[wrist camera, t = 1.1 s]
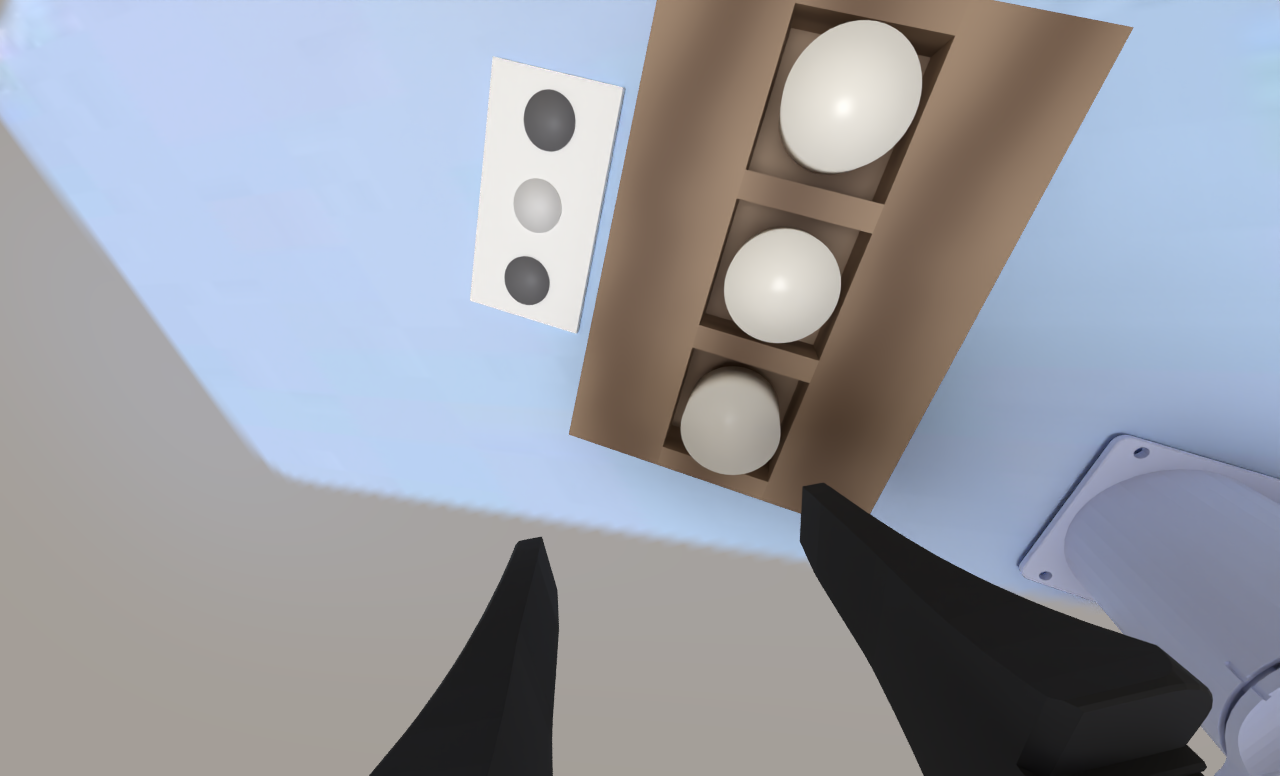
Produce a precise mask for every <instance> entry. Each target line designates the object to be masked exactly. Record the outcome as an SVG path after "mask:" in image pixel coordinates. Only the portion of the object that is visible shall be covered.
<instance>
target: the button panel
mask: <svg viewBox="0 0 1280 776" xmlns="http://www.w3.org/2000/svg"><path fill="white" fill-rule="evenodd" d="M858 20H871V21H878V22H881V23H885V24H887V25H889V26H891V27H894V28H895V29H897V30H898V31H899V32H901V33H902V34H903V35H904V36H905V37H906V38H907V39H908V40H909V42H910V43H911V44H912V46H913V47H914V49H915V52H916V54H917V56H918V59H919V62H920V66H921V72H922V90H921V97H920V101H919V105H918V108H917V111H916V114H915V116H914V118H913V120H912V122H911V124H910V126H909V127H908V129H907V131H906V132H905V134H904V135H903V136H902V137H901V139H900V140H899V141H898V142H897V143H896V144H895V145H894V146H893V147H892V148H891V149H890V150H889V151H888V152H886V153H885V154H884V155H883V156H881V157H880V158H878V159H876V160H875V161H873V162H871V163H869V164H867V165H864V166H862V167H859V168H856V169H854V170H851V171H848V172H846V173H841V174H835V175H822V174H816V173H813V172H810V171H808V170H806V169H804V168H802V167H801V166H799V165H798V164H797V163H796V162H795V161H794V160H793V159H792V158H791V157H790V156H789V154H788V153H787V151H786V149H785V148H784V145H783V143H782V140H781V136H780V131H779V113H780V106H781V100H782V95H783V90H784V86H785V83H786V80H787V78H788V75H789V73H790V71H791V69H792V67H793V65H794V64H795V62H796V61H797V59H798V57H799V56H800V55H801V54H802V52H803V51H804V50H805V49H806V48H807V47H808V46H809V45H810V44H811V43H812V42H813V41H814V40H815V39H816V38H818V37H819V36H820V35H822V34H823V33H825V32H826V31H828V30H830V29H832V28H834V27H836V26H838V25H841V24H844V23H847V22H852V21H858ZM1132 29H1133V27H1129V26H1124V25H1118V24H1113V23H1108V22H1103V21H1098V20H1093V19H1087V18H1082V17H1077V16H1072V15H1067V14H1062V13H1056V12H1051V11H1046V10H1041V9H1036V8H1031V7H1025V6H1020V5H1015V4H1010V3H1005V2H1000V1H994V0H657V2H656V7H655V12H654V17H653V22H652V27H651V32H650V37H649V42H648V47H647V52H646V57H645V62H644V67H643V71H642V76H641V81H640V86H639V91H638V96H637V101H636V106H635V111H634V116H633V121H632V126H631V131H630V136H629V140H628V145H627V150H626V155H625V160H624V165H623V170H622V175H621V180H620V185H619V190H618V195H617V200H616V205H615V209H614V214H613V219H612V224H611V229H610V234H609V239H608V244H607V249H606V254H605V259H604V264H603V269H602V274H601V278H600V283H599V288H598V293H597V298H596V303H595V308H594V313H593V318H592V323H591V328H590V333H589V338H588V343H587V347H586V352H585V357H584V362H583V367H582V372H581V377H580V382H579V387H578V392H577V397H576V402H575V407H574V412H573V416H572V421H571V426H570V431H569V435H572V436H575V437H578V438H581V439H584V440H587V441H590V442H593V443H595V444H598V445H601V446H604V447H607V448H610V449H613V450H616V451H619V452H622V453H625V454H628V455H631V456H634V457H637V458H639V459H642V460H645V461H648V462H651V463H654V464H657V465H660V466H663V467H666V468H669V469H672V470H675V471H678V472H680V473H683V474H686V475H689V476H692V477H695V478H698V479H701V480H704V481H707V482H710V483H713V484H716V485H719V486H721V487H724V488H727V489H730V490H733V491H736V492H739V493H742V494H745V495H748V496H751V497H754V498H757V499H760V500H763V501H765V502H768V503H771V504H774V505H777V506H780V507H783V508H786V509H789V510H792V511H795V512H798V513H801V506H802V486H807V485H812V484H817V483H823V482H824V483H825V484H827V485H828V486H830V487H831V488H833V489H834V490H836V491H837V492H839V493H840V494H841V495H843V496H844V497H846V498H847V499H849V500H850V501H851V502H853V503H854V504H856V505H857V506H859V507H860V508H862V509H863V510H864V511H866V512H867V513H869V514H870V513H871V511H872V509H873V507H874V506H875V504H876V502H877V500H878V498H879V496H880V494H881V493H882V491H883V489H884V487H885V485H886V483H887V482H888V480H889V478H890V476H891V474H892V472H893V470H894V469H895V467H896V465H897V463H898V461H899V459H900V458H901V456H902V454H903V452H904V450H905V448H906V446H907V445H908V443H909V441H910V439H911V437H912V435H913V434H914V432H915V430H916V428H917V426H918V424H919V422H920V421H921V419H922V417H923V415H924V413H925V411H926V410H927V408H928V406H929V404H930V402H931V400H932V398H933V397H934V395H935V393H936V391H937V389H938V387H939V386H940V384H941V382H942V380H943V378H944V376H945V374H946V373H947V371H948V369H949V367H950V365H951V363H952V362H953V360H954V358H955V356H956V354H957V352H958V350H959V349H960V347H961V345H962V343H963V341H964V339H965V338H966V336H967V334H968V332H969V330H970V328H971V326H972V325H973V323H974V321H975V319H976V317H977V315H978V314H979V312H980V310H981V308H982V306H983V304H984V303H985V301H986V299H987V297H988V295H989V293H990V291H991V290H992V288H993V286H994V284H995V282H996V280H997V279H998V277H999V275H1000V273H1001V271H1002V269H1003V267H1004V266H1005V264H1006V262H1007V260H1008V258H1009V256H1010V255H1011V253H1012V251H1013V249H1014V247H1015V245H1016V243H1017V242H1018V240H1019V238H1020V236H1021V234H1022V232H1023V231H1024V229H1025V227H1026V225H1027V223H1028V221H1029V219H1030V218H1031V216H1032V214H1033V212H1034V210H1035V208H1036V207H1037V205H1038V203H1039V201H1040V199H1041V197H1042V195H1043V194H1044V192H1045V190H1046V188H1047V186H1048V184H1049V183H1050V181H1051V179H1052V177H1053V175H1054V173H1055V171H1056V170H1057V168H1058V166H1059V164H1060V162H1061V160H1062V159H1063V157H1064V155H1065V153H1066V151H1067V149H1068V147H1069V146H1070V144H1071V142H1072V140H1073V138H1074V136H1075V135H1076V133H1077V131H1078V129H1079V127H1080V125H1081V123H1082V122H1083V120H1084V118H1085V116H1086V114H1087V112H1088V111H1089V109H1090V107H1091V105H1092V103H1093V101H1094V99H1095V98H1096V96H1097V94H1098V92H1099V90H1100V88H1101V87H1102V85H1103V83H1104V81H1105V79H1106V77H1107V75H1108V74H1109V72H1110V70H1111V68H1112V66H1113V64H1114V63H1115V61H1116V59H1117V57H1118V55H1119V53H1120V51H1121V50H1122V48H1123V46H1124V44H1125V42H1126V40H1127V39H1128V37H1129V35H1130V33H1131V31H1132ZM775 227H791V228H797V229H800V230H802V231H805V232H807V233H809V234H810V235H812V236H813V237H815V238H817V239H818V240H819V241H821V242H822V243H823V244H824V245H825V246H826V247H827V248H828V249H829V250H830V251H831V253H832V254H833V256H834V258H835V259H836V262H837V264H838V267H839V271H840V276H841V290H840V295H839V299H838V302H837V305H836V307H835V309H834V311H833V313H832V314H831V316H830V317H829V319H828V320H827V321H826V322H825V323H824V324H823V325H822V326H821V327H820V328H819V329H818V330H816V331H815V332H813V333H812V334H810V335H808V336H807V337H804V338H802V339H799V340H796V341H793V342H787V343H770V342H765V341H761V340H759V339H756V338H754V337H752V336H750V335H748V334H747V333H746V332H744V331H743V330H742V329H741V328H740V327H739V326H738V325H737V324H736V323H735V322H734V320H733V319H732V317H731V316H730V314H729V311H728V309H727V306H726V303H725V297H724V284H725V278H726V274H727V271H728V268H729V266H730V264H731V262H732V260H733V259H734V257H735V255H736V253H737V252H738V250H739V249H740V248H741V246H742V245H743V244H744V243H745V242H746V241H747V240H749V239H750V238H751V237H753V236H754V235H756V234H758V233H760V232H762V231H764V230H767V229H770V228H775ZM728 366H737V367H743V368H747V369H750V370H753V371H755V372H756V373H758V374H760V375H761V376H763V377H764V378H765V379H766V380H767V381H768V382H769V383H770V385H771V386H772V388H773V389H774V391H775V393H776V396H777V399H778V406H779V418H780V441H779V444H778V448H777V450H776V452H775V453H774V455H773V456H772V458H771V459H770V460H769V461H768V462H767V463H766V464H764V465H763V466H762V467H760V468H758V469H756V470H754V471H752V472H749V473H745V474H740V475H726V474H720V473H717V472H714V471H711V470H709V469H707V468H705V467H703V466H702V465H700V464H699V463H698V462H697V461H695V460H694V459H693V458H692V456H691V455H690V454H689V452H688V451H687V450H686V448H685V446H684V443H683V440H682V436H681V420H682V416H683V413H684V411H685V408H686V406H687V403H688V400H689V398H690V395H691V393H692V390H693V388H694V386H695V385H696V383H697V382H698V381H699V380H700V379H701V378H702V377H703V376H704V375H706V374H707V373H709V372H711V371H713V370H715V369H718V368H721V367H728Z"/></svg>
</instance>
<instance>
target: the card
mask: <svg viewBox="0 0 1280 776" xmlns="http://www.w3.org/2000/svg"><path fill="white" fill-rule="evenodd" d="M624 92H625V89H624V88H623V87H619V86H615V85H610V84H606V83H602V82H598V81H594V80H589V79H585V78H581V77H577V76H573V75H568V74H564V73H560V72H556V71H552V70H547V69H543V68H539V67H535V66H531V65H526V64H522V63H518V62H514V61H510V60H505V59H501V58H497V57H493V60H492V71H491V82H490V92H489V103H488V114H487V124H486V135H485V146H484V157H483V167H482V178H481V189H480V199H479V210H478V221H477V232H476V242H475V253H474V264H473V274H472V285H471V296H470V301H473V302H476V303H480V304H483V305H486V306H489V307H493V308H496V309H499V310H502V311H505V312H509V313H512V314H515V315H518V316H521V317H525V318H528V319H531V320H534V321H537V322H541V323H544V324H547V325H550V326H553V327H557V328H560V329H563V330H566V331H569V332H573V333H578V331H579V325H580V320H581V315H582V310H583V305H584V299H585V294H586V289H587V284H588V279H589V273H590V268H591V263H592V258H593V253H594V247H595V242H596V237H597V232H598V227H599V222H600V216H601V211H602V206H603V201H604V196H605V190H606V185H607V180H608V175H609V170H610V164H611V159H612V154H613V149H614V144H615V138H616V133H617V128H618V123H619V118H620V113H621V107H622V102H623V97H624Z"/></svg>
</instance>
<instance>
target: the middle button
mask: <svg viewBox="0 0 1280 776" xmlns="http://www.w3.org/2000/svg"><path fill="white" fill-rule="evenodd" d="M840 290H841V276H840V271H839V267H838V264H837V262H836V259H835V258H834V256H833V254H832V253H831V251H830V250H829V249H828V248H827V247H826V246H825V245H824V244H823V243H822V242H821V241H819V240H818V239H817V238H815V237H813V236H812V235H810V234H809V233H807V232H805V231H802V230H800V229H797V228H791V227H775V228H770V229H767V230H764V231H762V232H760V233H758V234H756V235H754V236H753V237H751V238H750V239H749V240H747V241H746V242H745V243H744V244H743V245H742V246H741V248H740V249H739V250H738V252H737V253H736V255H735V257H734V259H733V260H732V262H731V264H730V266H729V268H728V271H727V274H726V278H725V284H724V297H725V303H726V306H727V309H728V311H729V314H730V316H731V317H732V319H733V320H734V322H735V323H736V324H737V325H738V326H739V327H740V328H741V329H742V330H743V331H744V332H746V333H747V334H748V335H750V336H752V337H754V338H756V339H759V340H761V341H765V342H770V343H787V342H793V341H796V340H799V339H802V338H804V337H807V336H808V335H810V334H812V333H813V332H815V331H816V330H818V329H819V328H820V327H821V326H822V325H823V324H824V323H825V322H826V321H827V320H828V319H829V317H830V316H831V314H832V313H833V311H834V309H835V307H836V305H837V302H838V299H839V295H840Z"/></svg>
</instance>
